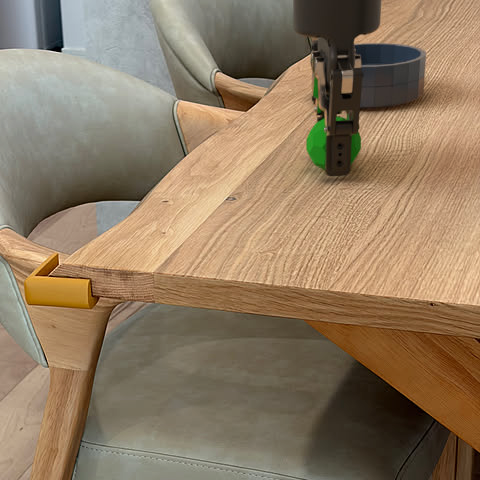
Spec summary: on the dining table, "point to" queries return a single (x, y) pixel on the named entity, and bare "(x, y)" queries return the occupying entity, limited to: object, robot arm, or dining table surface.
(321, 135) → the polyhedron
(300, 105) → the dining table surface
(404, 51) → the bowl
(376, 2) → the robot arm
